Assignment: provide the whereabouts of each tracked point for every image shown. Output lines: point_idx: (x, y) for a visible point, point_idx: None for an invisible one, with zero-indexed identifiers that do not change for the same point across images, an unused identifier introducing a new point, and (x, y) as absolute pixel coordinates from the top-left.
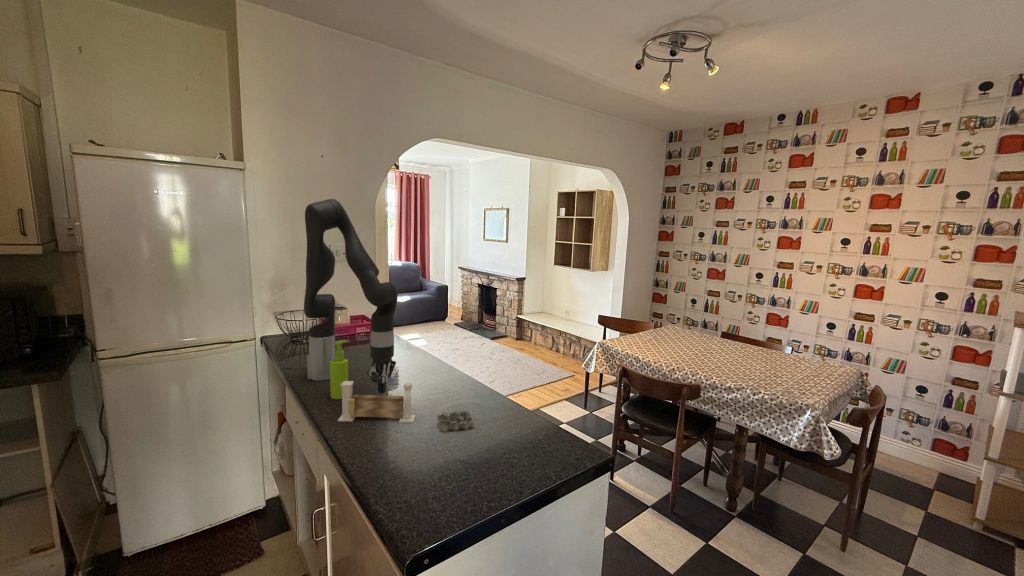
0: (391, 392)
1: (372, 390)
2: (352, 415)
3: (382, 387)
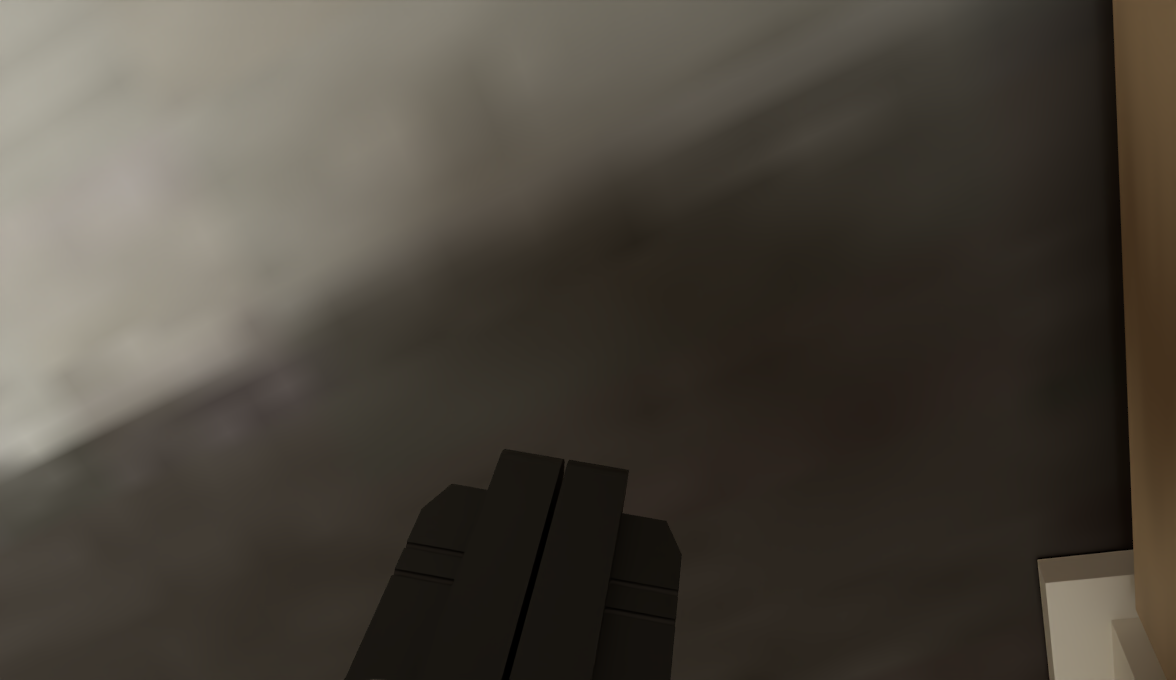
0: (10, 406)
1: (129, 673)
2: None
3: (603, 610)
